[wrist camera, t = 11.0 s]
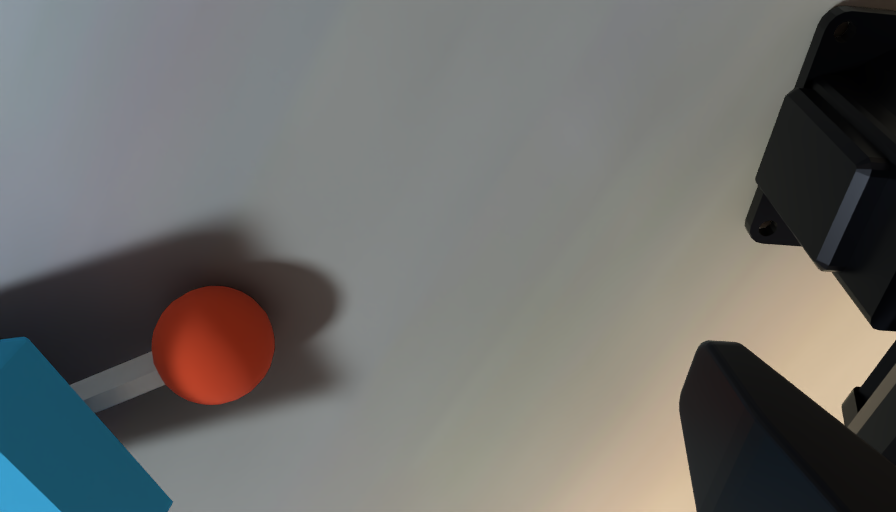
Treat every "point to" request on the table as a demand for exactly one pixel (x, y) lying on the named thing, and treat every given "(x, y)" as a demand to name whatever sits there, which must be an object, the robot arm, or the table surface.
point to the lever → (74, 406)
